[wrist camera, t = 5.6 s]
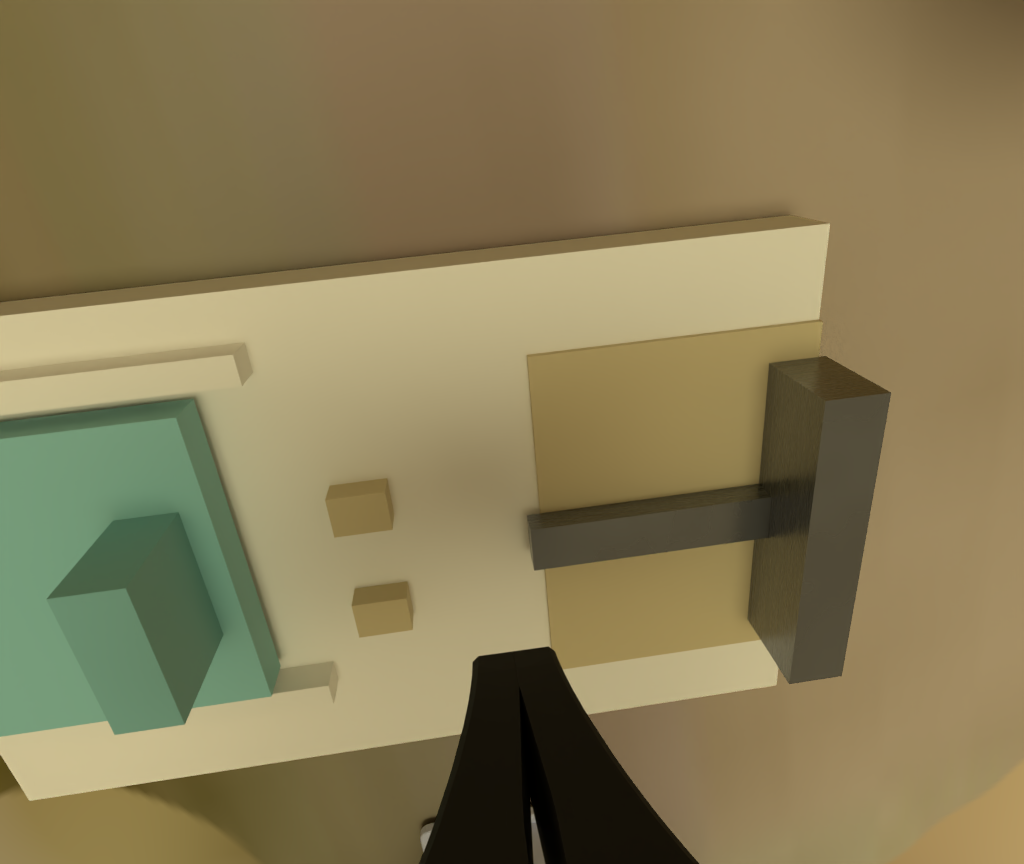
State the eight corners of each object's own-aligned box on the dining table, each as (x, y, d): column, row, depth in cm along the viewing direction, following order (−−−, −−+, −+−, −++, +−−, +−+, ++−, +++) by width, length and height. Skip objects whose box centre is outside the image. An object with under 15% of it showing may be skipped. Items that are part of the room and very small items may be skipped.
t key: (793, 612, 21) (841, 675, 19) (539, 649, 21) (553, 720, 18) (825, 355, 18) (891, 392, 15) (515, 394, 17) (528, 439, 14)
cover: (280, 665, 20) (243, 790, 16) (-20, 709, 19) (-132, 849, 16) (193, 398, 16) (118, 479, 12) (-185, 444, 16) (-386, 543, 12)
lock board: (751, 645, 25) (790, 707, 22) (61, 749, 23) (11, 829, 21) (790, 215, 18) (853, 228, 15) (-180, 322, 17) (-301, 358, 14)
